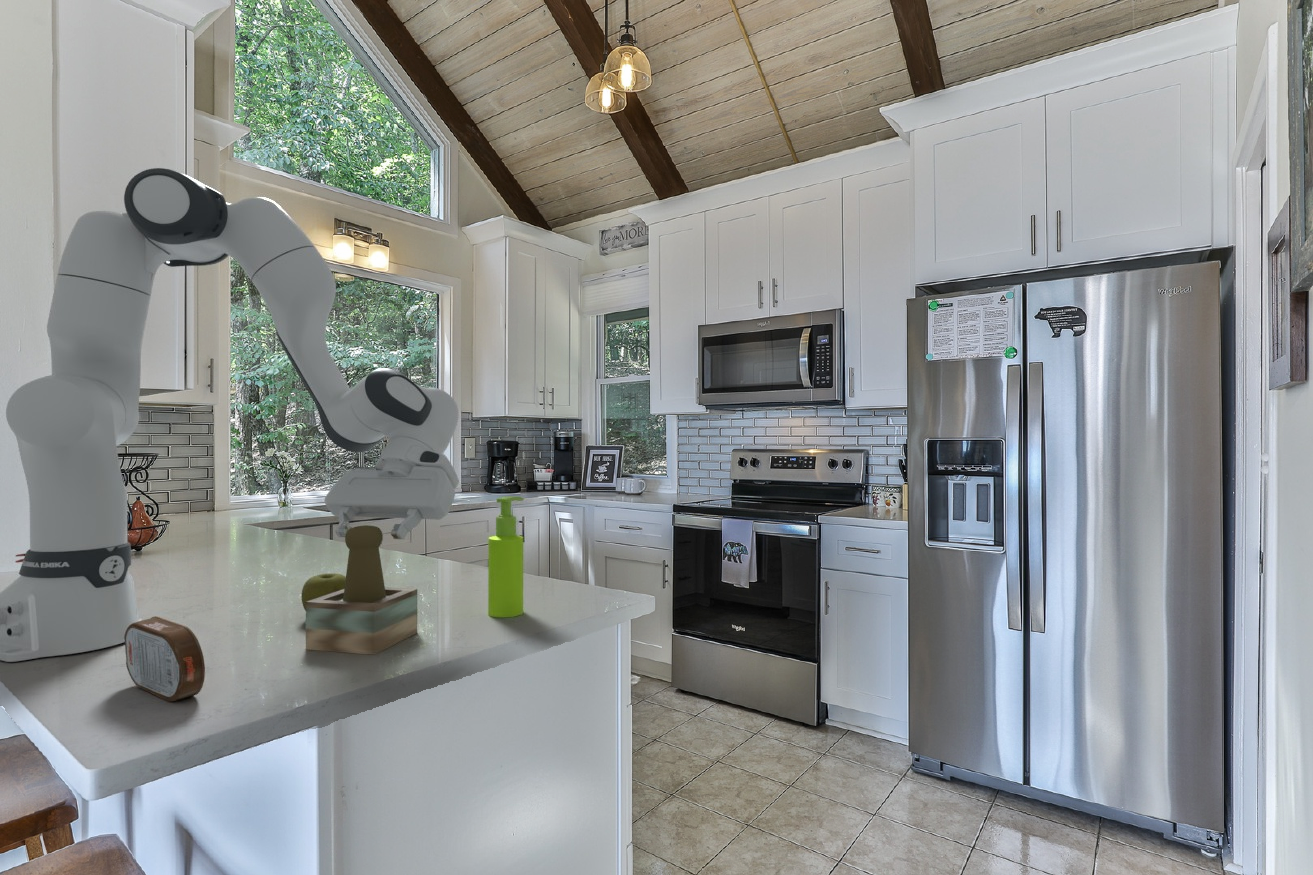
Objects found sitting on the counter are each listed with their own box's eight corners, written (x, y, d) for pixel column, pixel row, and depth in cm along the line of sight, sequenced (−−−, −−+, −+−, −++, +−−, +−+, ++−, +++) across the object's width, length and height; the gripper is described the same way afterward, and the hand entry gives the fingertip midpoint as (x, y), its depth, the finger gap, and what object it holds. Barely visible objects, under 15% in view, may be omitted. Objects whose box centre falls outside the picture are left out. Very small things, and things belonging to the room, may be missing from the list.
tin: (207, 701, 80) (207, 628, 80) (177, 710, 77) (177, 635, 77) (148, 676, 88) (148, 610, 88) (119, 684, 85) (119, 616, 85)
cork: (376, 605, 101) (375, 529, 100) (334, 604, 101) (334, 529, 100) (392, 594, 107) (392, 523, 106) (354, 594, 107) (353, 523, 107)
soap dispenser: (533, 609, 122) (533, 496, 122) (509, 619, 116) (509, 499, 116) (506, 606, 124) (506, 494, 124) (481, 615, 118) (481, 498, 118)
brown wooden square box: (305, 649, 99) (305, 601, 99) (354, 628, 110) (354, 585, 110) (374, 654, 97) (374, 606, 97) (417, 632, 108) (417, 588, 108)
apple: (301, 626, 111) (301, 582, 111) (301, 615, 118) (301, 573, 118) (353, 621, 114) (353, 577, 114) (349, 610, 122) (349, 569, 121)
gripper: (341, 454, 114) (298, 521, 105) (455, 455, 110) (421, 525, 100) (358, 479, 118) (318, 546, 109) (468, 482, 114) (437, 551, 105)
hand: (368, 536), depth 104 cm, fingers open, 8 cm apart
